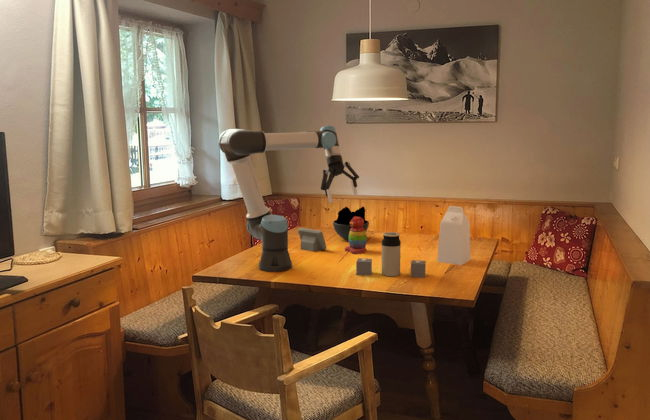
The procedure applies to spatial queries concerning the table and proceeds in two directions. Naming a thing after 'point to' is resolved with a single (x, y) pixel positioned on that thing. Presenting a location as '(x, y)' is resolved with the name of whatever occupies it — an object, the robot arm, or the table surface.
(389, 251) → the travel mug
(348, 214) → the bowl of black rocks
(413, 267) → the dotted block right
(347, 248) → the stacking bear
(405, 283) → the table surface
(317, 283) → the table surface
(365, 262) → the dotted block left
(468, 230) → the milk
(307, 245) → the digital clock
